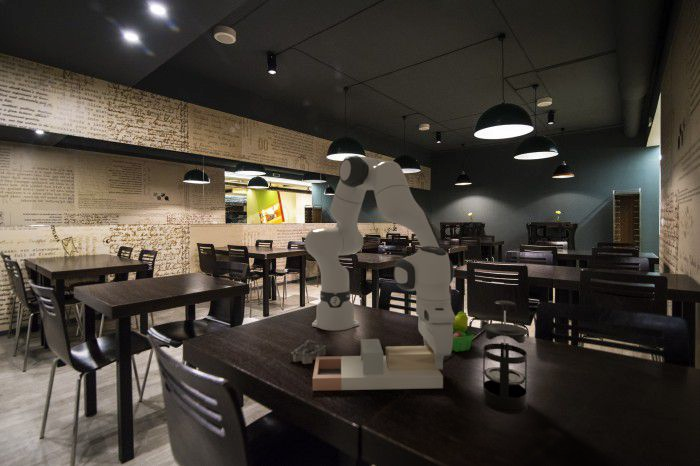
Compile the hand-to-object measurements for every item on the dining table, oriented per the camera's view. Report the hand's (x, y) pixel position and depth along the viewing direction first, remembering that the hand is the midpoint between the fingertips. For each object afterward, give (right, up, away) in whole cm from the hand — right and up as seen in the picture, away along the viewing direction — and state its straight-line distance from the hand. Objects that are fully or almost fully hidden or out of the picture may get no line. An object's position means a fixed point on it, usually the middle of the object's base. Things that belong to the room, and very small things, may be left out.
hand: (433, 359), depth 93 cm
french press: (+13, -5, -14) cm, 19 cm away
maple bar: (-5, -1, 0) cm, 5 cm away
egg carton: (-34, -5, +14) cm, 37 cm away
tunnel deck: (-15, -4, 0) cm, 16 cm away
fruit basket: (+13, -4, +22) cm, 26 cm away
